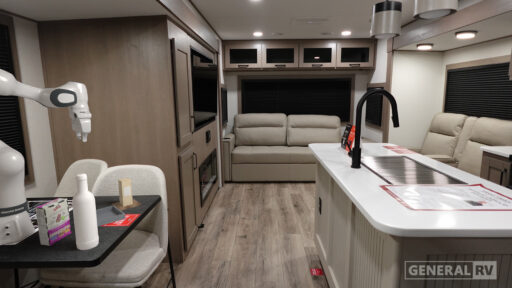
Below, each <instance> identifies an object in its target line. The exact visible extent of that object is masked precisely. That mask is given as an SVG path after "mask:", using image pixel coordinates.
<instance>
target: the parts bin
mask: <svg viewBox="0 0 512 288" xmlns="http://www.w3.org/2000/svg"><path fill="white" fill-rule="evenodd" d="M96 217H97V228H98V227H101V226H105V225H108V224H111V223H115V222H118V221H122V220H126V213H125V212H123V210H122V211H121V210H119V209H118V208H117V207H115V206H114V205H113V206H112V205H110V206H107V207H102V208H98V209H97V208H96Z"/></svg>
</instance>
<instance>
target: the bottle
mask: <svg viewBox="0 0 512 288" xmlns="http://www.w3.org/2000/svg"><path fill="white" fill-rule="evenodd" d="M87 175H88V174H86V173H78V174H76V175H75V181H76V191H77V192H76V193H75V194H74V196H73V197H72V200H71V203H72V213H73V223H74V232H75V244H76V249H77V250H80V251H87V250H91V249H94V248H95V247H97V246H98V245H99V243H100V242H99V239H100V238H99V231H98V227H97V217H96V210H97V208H96V206H97V205H96V198H95V196H94V194H93V192H91V191H90V190H89V187H88V176H87Z"/></svg>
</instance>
